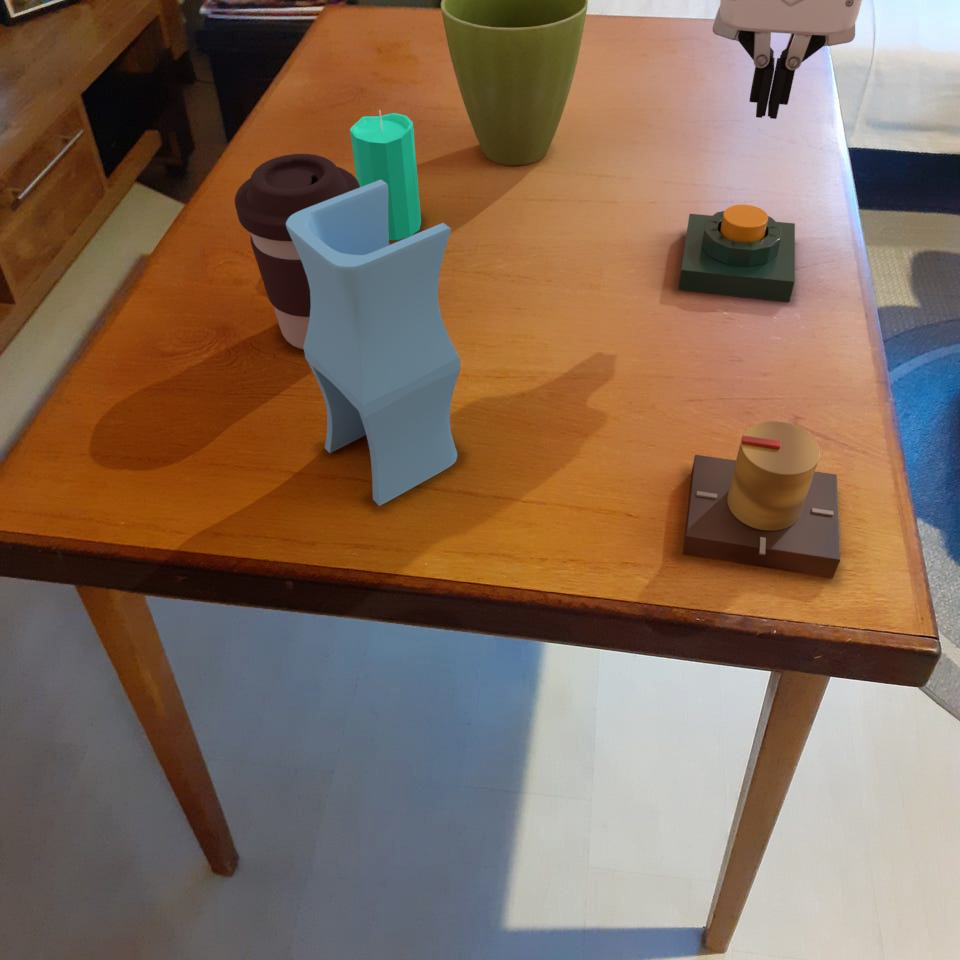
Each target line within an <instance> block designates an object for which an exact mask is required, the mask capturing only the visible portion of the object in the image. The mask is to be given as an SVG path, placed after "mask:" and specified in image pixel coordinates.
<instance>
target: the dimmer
mask: <svg viewBox="0 0 960 960" xmlns="http://www.w3.org/2000/svg"><path fill="white" fill-rule="evenodd" d="M735 463H736V459H729V458H722V457H716V456H715V457H714V456H708V455H701V454H700V455H699V454H694V458H693V462H692V468H691V473H690V482H689V489H688V491H689V492H688V499H687V508H686V519H685V527H684V528H685V529H684V538H683V545H682V555H683V556H690V557H695V558H696V557H697V558H703V559H708V560H709V559H711V560H716V561H721V562H728V563H735V564H741V565H746V566H753V567H758V568H764V569H765V568H766V569H771V570H777V571H783V572H791V573H796V574H802V575H803V574H804V575H809V576H815V577H821V578H827V579H834V577H835V575H836V572H837V571H838V567H839V565H840V562H841V541H840V539H841V538H840V537H841V536H840V514H839V492H838V491H839V490H838V488H839V487H838V474H836V473H829V472H823V471H815V473H814V476H813V479H812V482H811V485H810V488H809V491H808V494H807V497H806V500H805V503H804V506H803V508H802V511H801V514H800V517H799V519H798V520H797V521H796V522H795V523H794V524H793V525H791V526H790V527H788V528H785V529H782V530H777V531H765V530H759V529H756V528H752V527H750V526H748V525H746V524H744V523H743V522H741V521H740V520H738V519H737V518H736V517H735V516H734V515H733V513H732V512H731V510H730V508H729V506H728V502H727V497H728V492H729V488H730V484H731V480H732V476H733V471H734V467H735Z"/></svg>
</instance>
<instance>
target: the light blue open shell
mask: <svg viewBox="0 0 960 960" xmlns="http://www.w3.org/2000/svg"><path fill="white" fill-rule="evenodd" d="M286 227H287V230H288V232H289V234H290V237H291V239H292V241H293V243H294V245H295V247H296V250H297V252H298V254H299V257H300V259H301V261H302V264H303V267H304V270H305V273H306V275H307V279H308V283H309V287H310V299H311V309H310V320H309V325H308V330H307V334H306V338H305V342H304V347H303V348H304V350H303V352H304V358H305V360H306V361H307V364H308V365H309V367H310V369H311V371H312V373H313V376H314V377H315V379H316V382H317V384H318V386H319V389H320V392H321V394H322V397H323V400H324V404H325V408H326V409H325V411H326V419H327V420H326V421H327V422H326V423H327V424H326V426H327V427H326V436H325V443H324V449H325V450H326V451H327V452H328V453H329V454H332V453H334V452H336V451H337V450H340V449H341V448H343V447H345V446H347V445H349V444H351V443H353V442H356V441H357V440H359V439H361V438H363V437H365V436H366V440H367V445H368V449H369V456H370V457H369V458H370V464H371V481H372V482H371V483H372V500H373V501H374V503H375V504H376V505H378V507H381V506H382V505H384V504H386V503H388V502H390V501H392V500H393V499H395V498H397V497H399V496H401V495H402V494H404V493H406V492H408V491H410V490H412V489H414V488H415V487H417V486H419V485H421V484H422V483H424V482H426V481H428V480H430V479H431V478H433V477H435V476H437V475H438V474H440V473H443V472H444V471H446V470H447V469H449V468H450V467H452V466H453V465H454V464H455V463H456V462H457V459H458V451H457V448H456V445H455V442H454V438H453V434H452V429H451V406H452V400H453V394H454V392H455V391H454V390H455V387H456V384H457V380H458V377H459V374H460V370H461V356H460V355H459V353H458V351H457V350H456V347H455V346H454V343H453V341H452V340H451V338H450V335H449V333H448V331H447V328H446V326H445V323H444V320H443V317H442V313H441V307H440V301H439V282H440V281H439V280H440V276H441V269H442V263H443V259H444V256H445V251H446V248H447V245H448V242H449V239H450V235H451V231H452V228H451V227H450V226H448V224H446V223H445V222H441V223H439V224H437V225H433V226H432V227H429V228H426V229H425V230H423V231H420V232H418V233H417V232H416V233H414V234H413V235H412V236H410V237H407V238H403V239H400V240H397V241H396V242H393V243H391V244H390V240H389V231H388V184H387V183H385V182H384V181H383V180H378V181H376V182H373V183H370V184H368V185H365V186H363V187H360V188H357V189H355V190H352V191H350V192H347V193H344V194H342V195H339V196H337V197H334V198H331V199H329V200H326V201H323V202H321V203H318V204H316V205H313V206H310V207H308V208H305V209H303V210H301V211H298V212H296V213H294V214H292V215H291V216H290V217H289V218H288V220H287V222H286Z"/></svg>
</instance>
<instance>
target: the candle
mask: <svg viewBox="0 0 960 960" xmlns="http://www.w3.org/2000/svg"><path fill="white" fill-rule="evenodd" d="M378 114H379V115H377V116H376V115H375V116H372V115H371V116H370V115H369V116H368V115H367V116H362V117H360V118H359V119H358V121H356V122H355V123H354V124H353V125H352V126H351V127H350V129H349V134H350V141H351V148H352V156H353V163H354V170H355V178H356V179H357V181H358V182H359V185H360V187H363V186H365V185H368V184H370V183H373V182H376V181H378V180H383V181H384V182H385V183H387V184H388V231H389V241H396V242H397V241H401V240H403V239H405V238H408V237H410V236H413V235H415V234H417V232H419V231H420V228H421V226H422V214H421V211H422V210H421V201H420V200H421V199H420V190H419V188H420V187H419V179H418V178H419V177H418V166H417V153H416V142H415V129H414V122H413V121H412V120H411V119H410V118H409V116H408V115H405V114H401V113H397V112H392V113H387V114H383V115H382V112H381V109H379V110H378Z"/></svg>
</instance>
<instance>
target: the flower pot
mask: <svg viewBox="0 0 960 960" xmlns="http://www.w3.org/2000/svg"><path fill="white" fill-rule="evenodd" d="M588 5H589V0H441V2H440V11H441V15H442V21H443V22H442V23H443V26H444V32H445V37H446V41H447V48H448V50H449V55H450V56H449V57H450V59H451V63H452V68H453V71H454V75H455V79H456V82H457V85H458V88H459V89H458V90H459V92H460V95H461V98H462V102H463V105H464V108H465V109H466V113H467V116H468V118H469V122H470V125H471V127H472V129H473V132H474V134H475V136H476V139H477V141H478V144H479V146H480V149H481V151H482V153H483V155H484V156H485V158H486V159H488V160H489V161H490V162H491V161H492V162H493V163H495V164H498V165H503V166H525V165H529V164H533V163H536V162H539V161H540V160H542V159H543V158H545V156H547V154H548V152H549V150H550V147H551V145H552V142H553V140H554V139H555V136H556V133H557V130H558V127H559V125H560V122H561V119H562V116H563V113H564V110H565V107H566V104H567V100H568V99H569V98H568V97H569V95H570V94H569V93H570V91H571V88H572V83H573V79H574V76H575V73H576V72H575V71H576V68H577V64H578V60H579V55H580V50H581V44H582V38H583V33H584V28H585V22H586V17H587V11H588Z"/></svg>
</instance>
